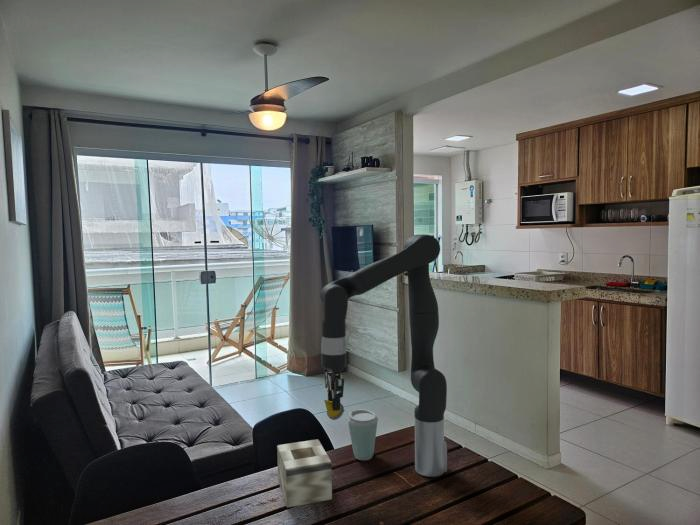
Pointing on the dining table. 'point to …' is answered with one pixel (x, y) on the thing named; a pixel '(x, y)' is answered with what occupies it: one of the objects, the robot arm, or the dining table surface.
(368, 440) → the disposable coffee cup
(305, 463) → the socket block
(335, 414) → the drill bit
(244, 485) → the dining table surface
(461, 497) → the dining table surface
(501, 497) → the dining table surface
